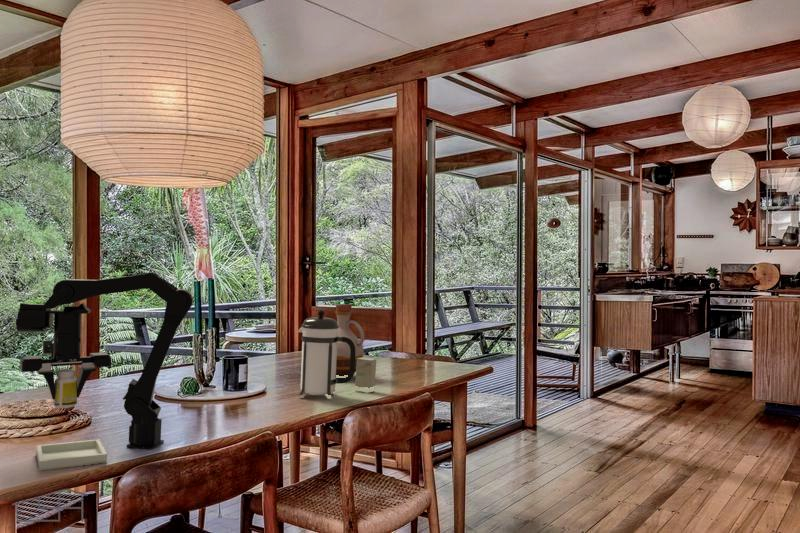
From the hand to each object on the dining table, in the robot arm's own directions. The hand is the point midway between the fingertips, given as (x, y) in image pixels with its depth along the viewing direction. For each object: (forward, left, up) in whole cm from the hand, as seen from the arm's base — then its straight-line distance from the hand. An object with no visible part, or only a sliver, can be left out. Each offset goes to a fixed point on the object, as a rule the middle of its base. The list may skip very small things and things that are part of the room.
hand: (65, 398), depth 151 cm
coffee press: (-43, -77, -12) cm, 89 cm away
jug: (-42, -115, -12) cm, 123 cm away
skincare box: (-56, -90, -12) cm, 107 cm away
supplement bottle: (0, 0, -2) cm, 2 cm away
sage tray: (-7, +7, -12) cm, 15 cm away
